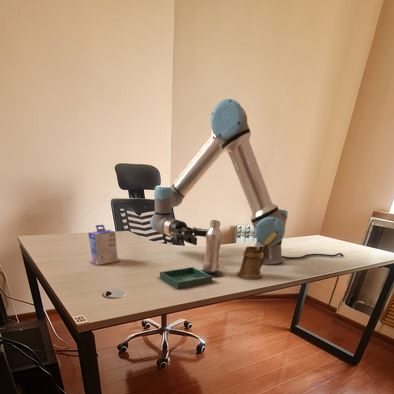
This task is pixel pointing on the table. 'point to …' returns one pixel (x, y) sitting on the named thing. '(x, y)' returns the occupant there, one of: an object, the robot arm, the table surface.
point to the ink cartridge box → (103, 246)
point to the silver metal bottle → (212, 247)
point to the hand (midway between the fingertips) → (209, 239)
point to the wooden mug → (255, 258)
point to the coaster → (213, 273)
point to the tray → (185, 277)
